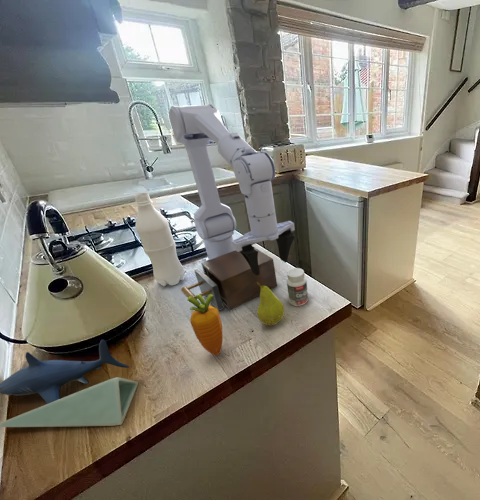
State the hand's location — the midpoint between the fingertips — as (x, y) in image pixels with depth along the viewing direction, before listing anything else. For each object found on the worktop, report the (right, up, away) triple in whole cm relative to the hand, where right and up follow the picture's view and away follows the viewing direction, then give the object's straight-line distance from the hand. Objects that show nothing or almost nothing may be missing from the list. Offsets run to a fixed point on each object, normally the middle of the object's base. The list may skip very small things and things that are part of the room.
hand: (270, 266), depth 69 cm
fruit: (+1, -13, -2) cm, 13 cm away
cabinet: (-10, -6, +10) cm, 15 cm away
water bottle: (-31, -5, +13) cm, 34 cm away
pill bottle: (+6, -9, +5) cm, 12 cm away
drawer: (-13, -7, +6) cm, 16 cm away
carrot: (-8, -17, -10) cm, 22 cm away
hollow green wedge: (-36, -20, -25) cm, 48 cm away
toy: (-30, -21, -16) cm, 40 cm away
